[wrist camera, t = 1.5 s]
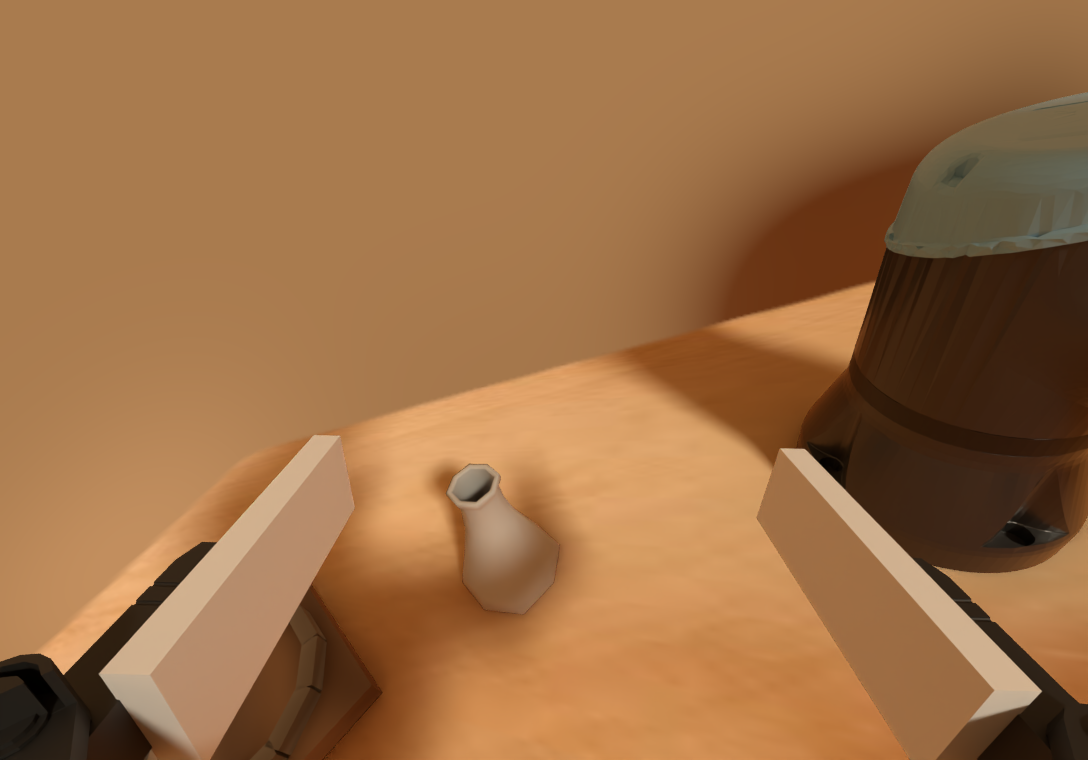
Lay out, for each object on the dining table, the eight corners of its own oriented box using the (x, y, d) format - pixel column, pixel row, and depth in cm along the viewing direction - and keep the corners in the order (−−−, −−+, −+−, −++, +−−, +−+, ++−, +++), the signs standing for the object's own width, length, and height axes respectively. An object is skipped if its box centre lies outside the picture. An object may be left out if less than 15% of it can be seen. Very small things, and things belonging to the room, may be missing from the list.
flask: (446, 590, 31) (390, 512, 25) (499, 510, 36) (462, 428, 29) (529, 635, 28) (486, 558, 21) (576, 540, 32) (551, 455, 26)
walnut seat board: (303, 573, 35) (285, 556, 33) (382, 692, 27) (362, 678, 25) (121, 728, 28) (86, 718, 26) (153, 948, 20) (106, 952, 18)
